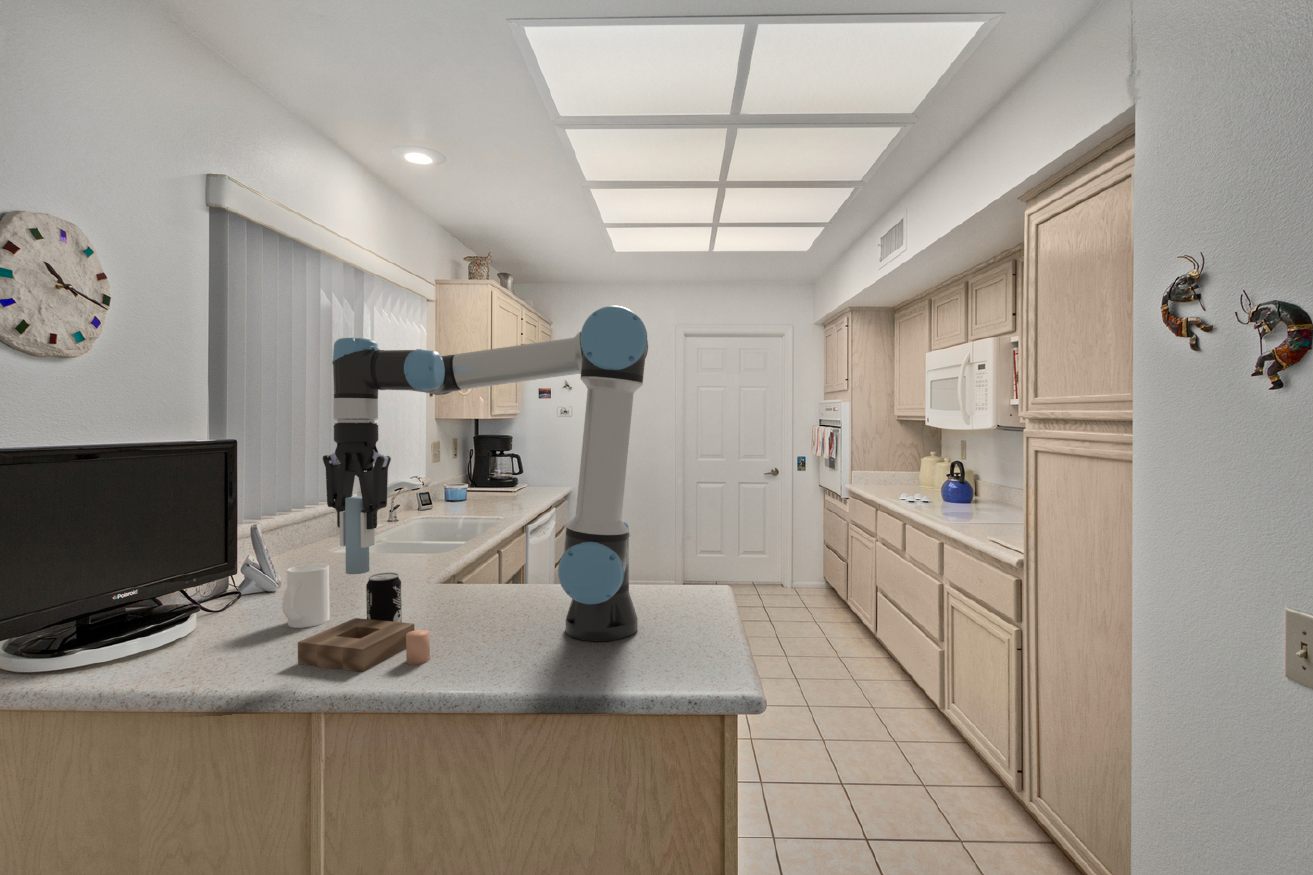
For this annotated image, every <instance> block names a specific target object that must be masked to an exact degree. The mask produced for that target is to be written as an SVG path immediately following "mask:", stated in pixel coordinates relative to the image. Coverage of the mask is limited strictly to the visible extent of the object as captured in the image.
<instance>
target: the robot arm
mask: <svg viewBox="0 0 1313 875" xmlns="http://www.w3.org/2000/svg"><path fill="white" fill-rule="evenodd" d="M648 351H649V341H648V331H647V328H646V326H645V324H644V322H643V321H642V319H641V317H640V316H639V315H638V314H636V313H635V312H633V311H632V310H630V309H629V308H626V307H624V306H620V305H608V306H604V307H600V308H599V309H596V310H595V311H594V312H592V313H591V314H590V315H588V317H587V318H586V320H584V323H583V325H582V328H581V331H578V332H577V334H576V335H575V336H574V337H569V338H562V339H561V338H560V339H553V340H547V341H538V342H533V343H526V344H519V345H518V344H517V345H511V346H504V347H503V346H502V347H499V348H491V349H483V350H476V351H468V352H463V353H455V354H447V355H442V356H441V354H440V353H439V352H438V351H436V350H426V349H420V348H416V349H388V350H385V349H379V345H378V343H377V341H375V340H373V339H370V338H362V337H357V338H356V337H341V338H338V339H336V340H335V341H334V343H333V354H332V357H333V358H332V368H333V369H332V370H333V371H332V372H333V374H332V375H333V420H334V421H335V420H336V423H334V424H333V442H335V443H336V448H335V450H334V452H333V453H331V454H327V455H326V454H325V455H323V456H322V462H323V464H324V467H325V479H326V480H325V483H326V505H327V507H328V508H333V509H335V511H336V525H337V528H339V547H346V541H345V498H348V497H353V490H354V484H355V479H356V478H355V477H357V478H358V482H359V488H360V494H361V497H362V500H363V505H364V510H361V511H362V513H360V519H361V548H365V547H369V548H370V547H372V546H375V529H377V527H378V511H379V510H381V509H385V508H386V507H387V506H388V480H389V476H388V475H389V474H388V473H389V466H390V464H391V460H392V458H391V456H390V455H384V454H381V453H379V450H378V447H377V442H378V441H379V424H378V423H377V422H375V421H377V420H378V419H379V391H410V392H411V391H412V392H418V393H419V392H420V393H425V394H432V395H435V396H442V395H449V394H451V393H453V392H458V391H462V390H471V389H472V390H473V389H478V388H484V387H485V388H486V387H491V386H499V385H508V384H513V383H521V382H529V381H536V380H542V379H543V380H544V379H550V378H559V377H565V376H572V375H578V374H580V378H579V379H580V380H581V381H582V383H583V384H584V385H585V387H586V388H587V393H586V402H585V404H586V405H585V414H584V422H583V423H584V424H583V434H582V435H583V436H582V444H581V446H582V447H581V454H580V468H579V475H578V476H579V477H578V486H577V495H576V496H577V497H576V507H575V508H576V509H575V516H574V517H573V518H572V519H570V521H568V522H567V523H566V526H565V535H564V536H565V537H564V546H563V554H562V555H561V558H560V559H559V563H558V567H557V568H558V569H557V571H558V581H559V584H560V586H561V587H562V590H563V591H564V592H565V593H566V595H567V596H569V597H570V598H571V602H570V605H569V607H568V611H567V614H566V618H565V633H566V634H567V635H568V636H569V637H572V638H574V639H576V640H581V641H586V642H587V641H588V642H609V641H617V640H621V639H625V638H627V637H630V636H633V635H634V634H635V633H636V632H637V631H638V628H639V627H638V620H639V619H638V615H637V612H636V609H635V606H634V603H633V599H632V597H631V594H630V543H629V542H630V540H629V539H630V536H631V535H630V531H629V524H628V523H627V522H626V521H625V520H622V516H623V515H622V514H623V508H624V507H623V506H624V495H625V484H626V477H627V476H626V475H627V466H628V465H627V463H628V457H629V456H628V455H629V444H630V434H631V424H632V422H631V421H632V416H633V415H632V411H633V402H634V394H635V392H636V391H637V390H638V389H640V388H641V387H642V386H643V385H644V382H643V381H644V375H645V374H644V373H645V364H646V358H647V355H648V353H649V352H648Z"/></svg>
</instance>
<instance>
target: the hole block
mask: <svg viewBox="0 0 1313 875" xmlns="http://www.w3.org/2000/svg"><path fill="white" fill-rule="evenodd" d="M414 630H415V623H414V622H413V623H412V622H403V621H402V622H392V621H381V620H371V619H367V618H359V617H354V618H352V619H349V620H347V621H345V622H342V623H340V624H338V625H335V626H332V627H331V628H328V629H326V630H323V631H320V632H318V633H316V634H313V635H311V636H309V637H306V638H304V639H302V640H298V641H297V664H298V665H302V664H305V665H304V666H310V665H312V666H311V667H318V666H320V668H327V667H328V668H329V669H335V670H346V671H353V672H354V671H355V672H360V673H363V672H366V671H367V670H369V669H371V668H373V667H375V666H376V665H378V664H381V663H382V662H384V661H386V660H388V659H390V658H391V657H393V656H395V655H396V654H399V653H400V652H402V651H404V650H406V634H407V633H408V632H411V631H414ZM313 665H314V666H313ZM328 668H327V669H328Z"/></svg>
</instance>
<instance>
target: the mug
mask: <svg viewBox="0 0 1313 875" xmlns="http://www.w3.org/2000/svg"><path fill="white" fill-rule="evenodd" d="M281 602H282V603H281V604H282V605H281V606H282V612H283V614H284V615H285V617H286V618H287V625H288V627H289V628H294V629H295V628H296V629H303V628H304V629H305V628H310V627H316V626H321V625H323V624H325V623H327V622H328V621H329V620H330V613H331V610H330V606H331V605H330V566H329V564H326V563H308V564H300V565H295V566H292V567H289V568H287V570H286V589H285V591H284V593H283V597H282V601H281Z"/></svg>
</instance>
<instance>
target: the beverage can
mask: <svg viewBox="0 0 1313 875" xmlns="http://www.w3.org/2000/svg"><path fill="white" fill-rule="evenodd" d="M399 575H400V574H399V573H397V572H381V573H380V572H379V573H375V574H372V575H369V577H368V580H367V583H366V586H365V588H366V589H365V590H366V591H365V592H366V594H365V595H366V597H365V598H366V619H371V620H381V621H392V622H403V620H402V619H403V618H402V581H401V579H400V578H399Z"/></svg>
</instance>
